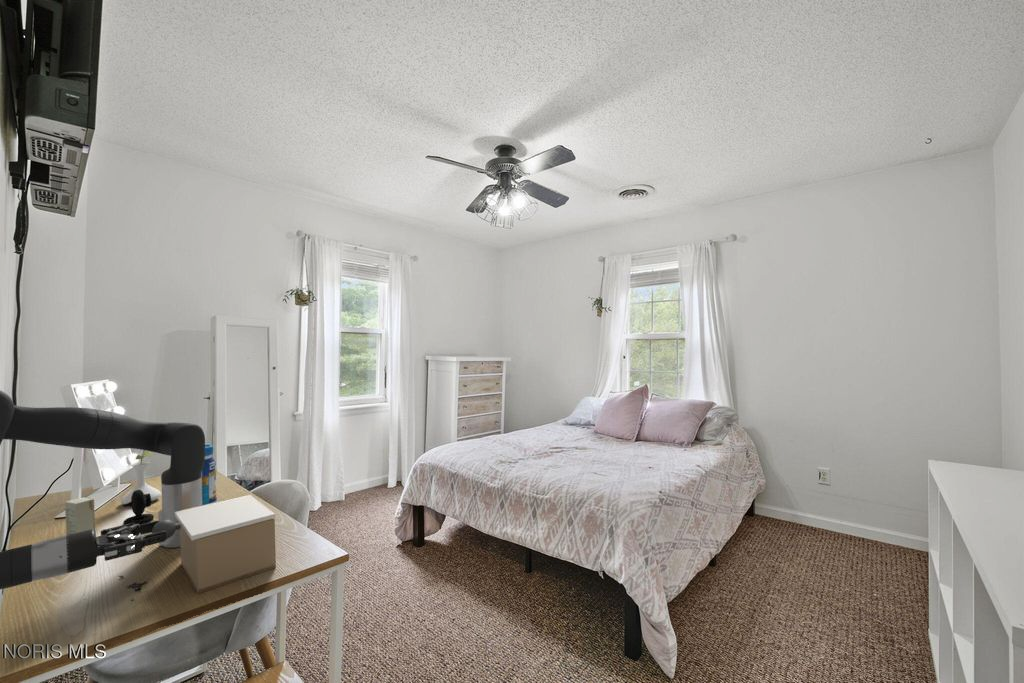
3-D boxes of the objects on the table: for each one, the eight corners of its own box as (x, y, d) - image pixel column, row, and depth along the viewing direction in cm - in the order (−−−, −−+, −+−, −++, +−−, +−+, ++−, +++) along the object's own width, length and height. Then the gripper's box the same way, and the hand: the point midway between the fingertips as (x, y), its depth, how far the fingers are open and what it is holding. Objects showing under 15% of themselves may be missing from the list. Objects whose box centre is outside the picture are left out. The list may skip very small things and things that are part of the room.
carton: (198, 593, 101) (196, 539, 101) (181, 563, 116) (179, 516, 116) (275, 567, 113) (274, 518, 113) (251, 543, 127) (250, 499, 127)
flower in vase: (144, 507, 157) (142, 434, 157) (111, 508, 157) (109, 435, 157) (173, 494, 170) (171, 427, 170) (142, 495, 170) (140, 428, 170)
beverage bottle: (182, 506, 158) (181, 448, 158) (208, 498, 165) (207, 442, 165) (196, 510, 154) (195, 450, 154) (222, 501, 161) (220, 445, 161)
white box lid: (159, 557, 96) (158, 536, 96) (146, 529, 111) (145, 511, 111) (275, 524, 112) (274, 506, 112) (250, 504, 127) (249, 488, 127)
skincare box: (96, 541, 130) (95, 498, 130) (77, 548, 126) (75, 504, 126) (85, 538, 133) (83, 496, 133) (65, 544, 129) (64, 501, 129)
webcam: (156, 521, 145) (155, 489, 145) (125, 528, 139) (124, 495, 139) (150, 515, 150) (150, 484, 150) (121, 522, 144) (120, 490, 144)
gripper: (64, 546, 89) (167, 521, 100) (63, 526, 99) (158, 506, 110) (65, 585, 89) (168, 556, 100) (64, 561, 99) (159, 537, 110)
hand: (163, 530), depth 105 cm, fingers open, 8 cm apart
